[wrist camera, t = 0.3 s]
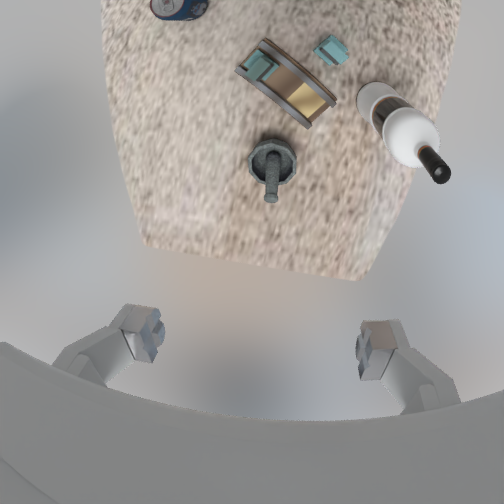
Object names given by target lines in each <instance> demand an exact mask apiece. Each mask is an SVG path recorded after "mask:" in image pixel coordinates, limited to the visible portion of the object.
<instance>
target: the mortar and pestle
mask: <svg viewBox="0 0 504 504" xmlns="http://www.w3.org/2000/svg"><path fill="white" fill-rule="evenodd" d="M248 166H249V173H250V174H251V175H252V176H253V177H254V178H255V179H256V180H257V181H258V182H259V183H262V184H265V185H266V194H265V196H264V200H265V201H266V202H268V203H275V202H277V201H278V196H277V192H278V185H282V184H286V183H288V182H289V180H290V179H291V178H292V177H293V176H294V175H295V174H296V155H295V153H294V152H293V150H292V149H291V148H290V147H289V145H288V144H287V143H285V142H283V141H281V140H278V139H275V138H273V139H269V140H266V141H263V142H259V143H258V144H257V146H256V147H255V148H254V150H253V151H252V152H251V154H250V155H249V157H248Z"/></svg>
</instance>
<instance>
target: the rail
mask: <svg viewBox="0 0 504 504" xmlns="http://www.w3.org/2000/svg"><path fill="white" fill-rule="evenodd" d="M235 72H236V73H237V74H239V75H240V76H242V77H243V78H244V79H246V80H247V81H248V82H250V83H251V84H252V85H254V86H255V87H256V88H258V89H259V90H260V91H262V92H263V93H264V94H265V95H267V96H268V97H269V98H270V99H272V100H273V101H274V102H275V103H277V104H278V105H279V106H280V107H281V108H283V109H284V110H285V111H286V112H287V113H289V114H290V115H291V116H292V117H293V118H294V119H296V120H297V121H298V122H299V123H300V124H301V125H302V126H304V127H305V128H306V129H307V130H308V129H309V128H310V127H311V126H312V123H311V122H313V121H314V120H315V119H316V118H317V117H318V116H319V115H320V114H322V113H323V112H324V111H325V110H326V109H327V108H328V107H329V106H331V107H332V108H333V107H334V106H335V105H336V102H335V101H336V100H337V99H336V97H335V96H334V95H333V94H331V93H330V92H329V91H328V90H327V89H326V88H325V87H324V86H323V85H322V84H321V83H320V82H319V81H318V80H317V79H315V78H314V77H313V76H312V75H311V74H310V73H309V72H308V71H306V70H305V69H304V68H303V67H302V66H301V65H299V64H298V63H297V62H296V61H295V60H293V59H292V58H291V57H290V56H288V55H287V54H286V53H285V52H283V51H282V50H281V49H280V48H278V47H277V46H276V45H274V44H273V43H272V42H270V41H269V40H268V39H266V38H265V39H264V40H263V41H261V42H260V43H259V44H258V46H257V47H256V48H255V50H254V51H253V52H252V53H251V54H250V55H249V56H248V57H247V58H246V59H245V60H244V61H243V63H242V64H241V65H240V66H238V67H237V68H236V70H235Z"/></svg>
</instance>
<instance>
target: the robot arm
mask: <svg viewBox="0 0 504 504" xmlns="http://www.w3.org/2000/svg"><path fill="white" fill-rule="evenodd" d="M160 317H161V314H160V311H159V309H157V308H153V307H147V306H141V305H133V304H125V305H124V306H123V308H122V309H121V310H120V311H119V313H118V314H117V316H116V317H115V318H114V320H113V321H112V322H111V324H110V325H109V326H108V327H106V326H105V327H103V328H101V329H99V330H97V331H96V332H94V333H92V334H90V335H88V336H86V337H84V338H82V339H80V340H78V341H76V342H74V343H72V344H70V345H68V346H67V347H65V348H64V349H63V350H62V352H61V353H60V354H59V356H58V357H57V359H56V360H55V361H54V363H53V364H52V365H49V364H47V363H45V362H42V361H40V360H39V359H36V358H34V357H32V356H30V355H28V354H27V353H24V352H23V351H21V350H19V349H17V348H15V347H14V346H12V345H10V344H8V343H6V342H0V504H504V390H502V391H499V392H496V393H494V394H490V395H487V396H484V397H481V398H478V399H474V400H471V401H467V402H463V403H461V401H460V398H459V395H458V392H457V389H456V387H455V384H454V381H453V379H452V378H451V377H449V376H448V375H447V374H446V373H444V372H443V371H442V370H441V369H439V368H438V367H437V366H436V365H435V364H433V363H432V362H431V361H430V360H428V359H427V358H426V357H425V356H423V355H422V354H421V353H420V352H418V351H417V350H416V349H414V348H410V345H409V342H408V340H407V337H406V335H405V332H404V330H403V327H402V324H401V322H400V320H399V319H393V320H368V321H367V320H364V321H363V322H362V324H361V327H360V329H361V334H360V335H359V336H358V338H357V342H356V358H357V360H358V361H360V364H359V366H358V370H359V376H360V380H362V381H363V380H380V381H381V383H382V384H383V385H384V386H385V387H386V388H387V390H388V391H389V392H390V393H391V394H392V396H393V397H394V398H395V399H396V401H397V402H398V403H399V404H400V405H401V407H402V408H403V409H404V410H403V411H402V413H401V414H400V415H398V416H390V417H382V418H371V419H359V420H341V421H287V420H270V419H257V418H246V417H236V416H230V415H222V414H214V413H208V412H203V411H197V410H192V409H187V408H182V407H177V406H172V405H168V404H163V403H159V402H155V401H151V400H147V399H144V398H140V397H137V396H133V395H129V394H126V393H123V392H120V391H116V390H113V389H110V388H108V387H107V386H106V383H107V382H108V381H110V380H111V379H112V378H113V377H115V376H116V375H117V374H119V373H120V372H121V371H123V370H124V369H125V368H127V367H128V366H129V365H131V364H132V363H133V362H134V361H135V360H137V361H142V362H147V363H153V361H154V359H155V357H156V355H157V353H158V352H157V347H159V346H160V345H161V344H162V343H163V341H164V336H165V327H164V324H163V323H162V322H161V321H160V320H159V318H160Z"/></svg>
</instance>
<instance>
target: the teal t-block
mask: <svg viewBox="0 0 504 504" xmlns="http://www.w3.org/2000/svg"><path fill="white" fill-rule="evenodd" d="M313 51H314V52H315V53H316V54H317V55H318V56H320V57H321V58H322V59H323V60H324V61H325V62H326V63H327V64H328V65H329V66H330V65H331V64H332V63H334V64H336V65H338V64H342V63H343V62H344V61H345V60H347V59H348V58H349V57H348V56H347V55H346V54H345V52H346V51H348V49H347V48H346V47H345V46H344V45H343V44H342V43H341V42H339V41H338V40H337V39H336V38H335V37H334V36H333V35H330V36H329V37H328V38H327V39H326V40H324V41H323V42H322V43H321V44H320V45H319V46H318V47H317V48H315V49H314V50H313Z"/></svg>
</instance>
